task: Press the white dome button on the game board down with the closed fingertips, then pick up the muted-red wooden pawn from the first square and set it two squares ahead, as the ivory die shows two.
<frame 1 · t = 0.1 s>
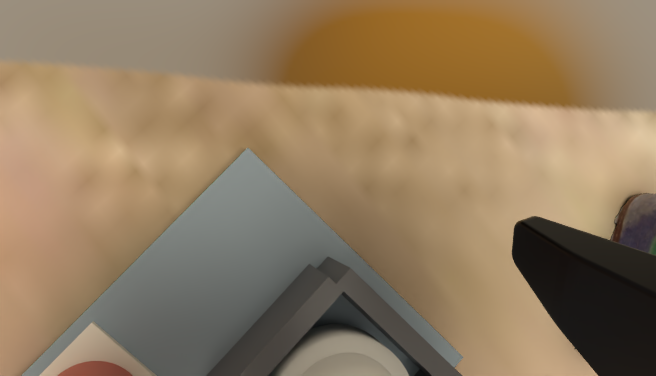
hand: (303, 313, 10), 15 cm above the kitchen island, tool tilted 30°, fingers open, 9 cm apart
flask: (613, 274, 29), on the kitchen island
button housing: (318, 369, 25), resting on board
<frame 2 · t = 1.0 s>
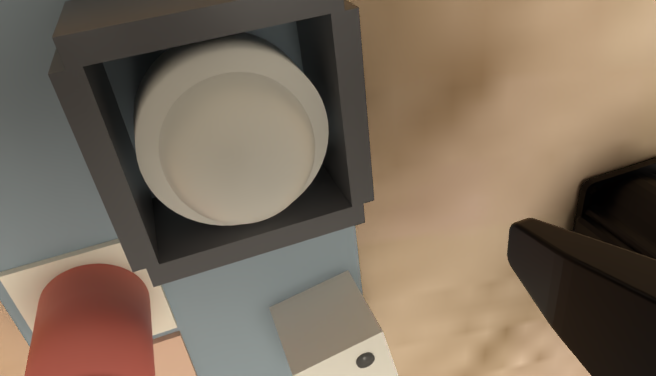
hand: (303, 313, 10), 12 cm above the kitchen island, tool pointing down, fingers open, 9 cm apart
pawn: (95, 304, 21), point 2 cm above the kitchen island, touching board
die: (321, 315, 26), point 1 cm above the kitchen island, touching board
board: (198, 269, 23), on the kitchen island
button housing: (212, 86, 19), resting on board
dome: (238, 147, 15), point 5 cm above the kitchen island, slide at 0.0 cm
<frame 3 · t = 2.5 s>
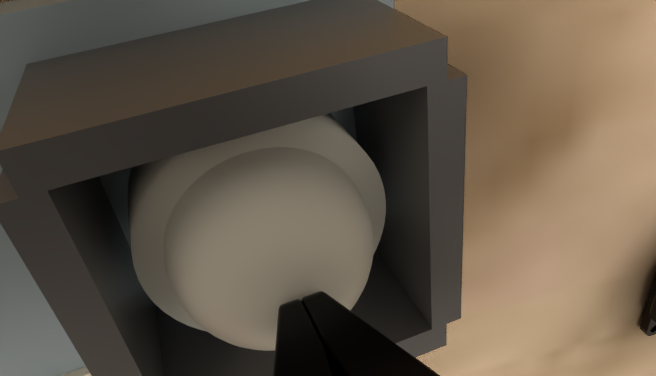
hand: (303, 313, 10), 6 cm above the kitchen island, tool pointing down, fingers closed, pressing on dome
board: (215, 371, 19), on the kitchen island
button housing: (233, 157, 15), resting on board
dome: (270, 243, 11), point 4 cm above the kitchen island, slide at 1.1 cm, touching gripper
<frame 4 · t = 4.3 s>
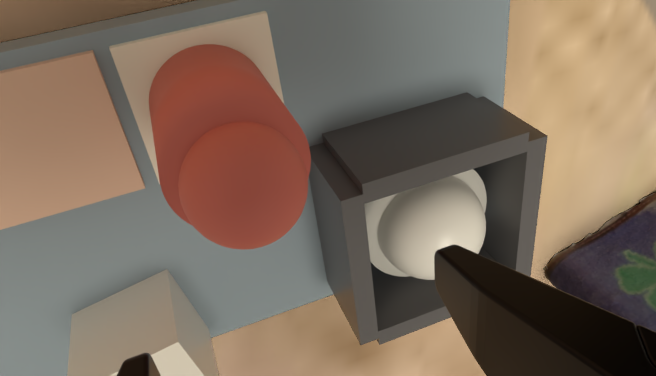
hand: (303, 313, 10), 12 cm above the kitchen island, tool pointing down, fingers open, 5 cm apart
pawn: (210, 103, 18), point 2 cm above the kitchen island, touching board
die: (144, 322, 22), point 1 cm above the kitchen island, touching board
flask: (603, 234, 33), on the kitchen island
board: (205, 186, 21), on the kitchen island
button housing: (390, 180, 24), resting on board
dome: (429, 224, 21), point 4 cm above the kitchen island, slide at 1.5 cm
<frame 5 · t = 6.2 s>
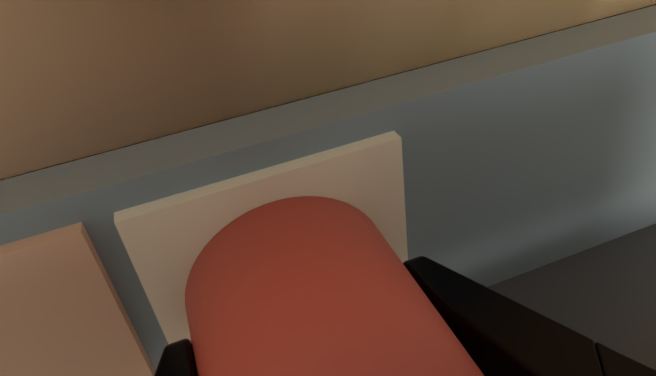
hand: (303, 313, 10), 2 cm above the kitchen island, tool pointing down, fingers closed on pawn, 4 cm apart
pawn: (290, 284, 10), point 2 cm above the kitchen island, touching board, gripper
board: (262, 372, 14), on the kitchen island
button housing: (523, 329, 17), resting on board
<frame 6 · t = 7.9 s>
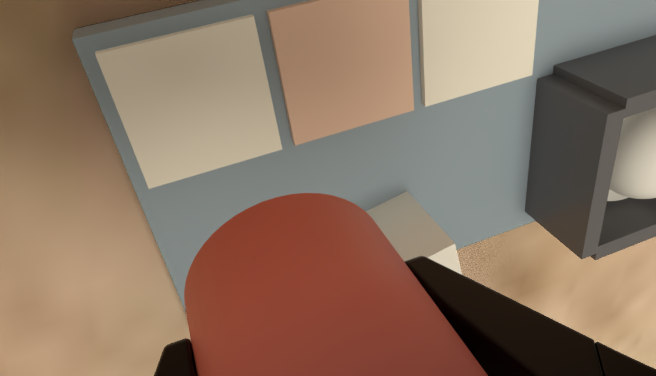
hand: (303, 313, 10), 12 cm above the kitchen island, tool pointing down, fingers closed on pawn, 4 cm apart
pawn: (290, 282, 10), point 11 cm above the kitchen island, touching gripper
die: (378, 242, 24), point 1 cm above the kitchen island, touching board
board: (440, 115, 23), on the kitchen island
button housing: (583, 117, 27), resting on board
dome: (642, 149, 24), point 4 cm above the kitchen island, slide at 1.5 cm
when the fingers open (4 cm above the kitchen island, at t = 9.7 s): pawn drops 1 cm, resting on board.
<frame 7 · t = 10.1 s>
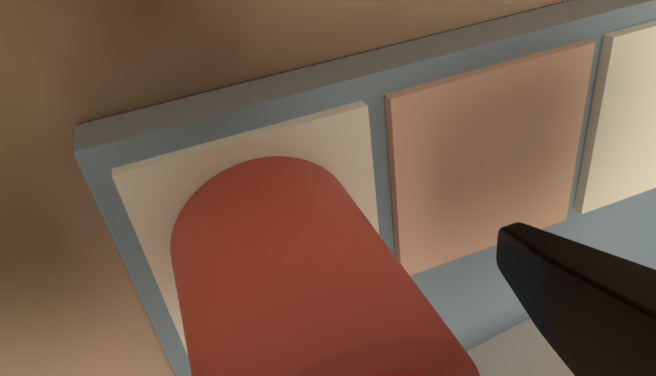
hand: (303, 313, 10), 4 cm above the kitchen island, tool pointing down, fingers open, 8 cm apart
pawn: (266, 239, 11), point 2 cm above the kitchen island, touching board
board: (579, 212, 17), on the kitchen island
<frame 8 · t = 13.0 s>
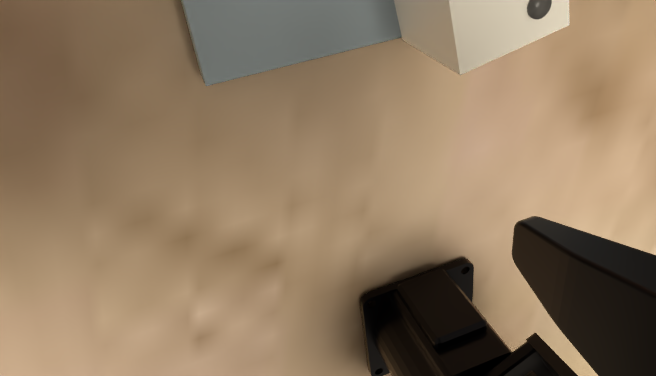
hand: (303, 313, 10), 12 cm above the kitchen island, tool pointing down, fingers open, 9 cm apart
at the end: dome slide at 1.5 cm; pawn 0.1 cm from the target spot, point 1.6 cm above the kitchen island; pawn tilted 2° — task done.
